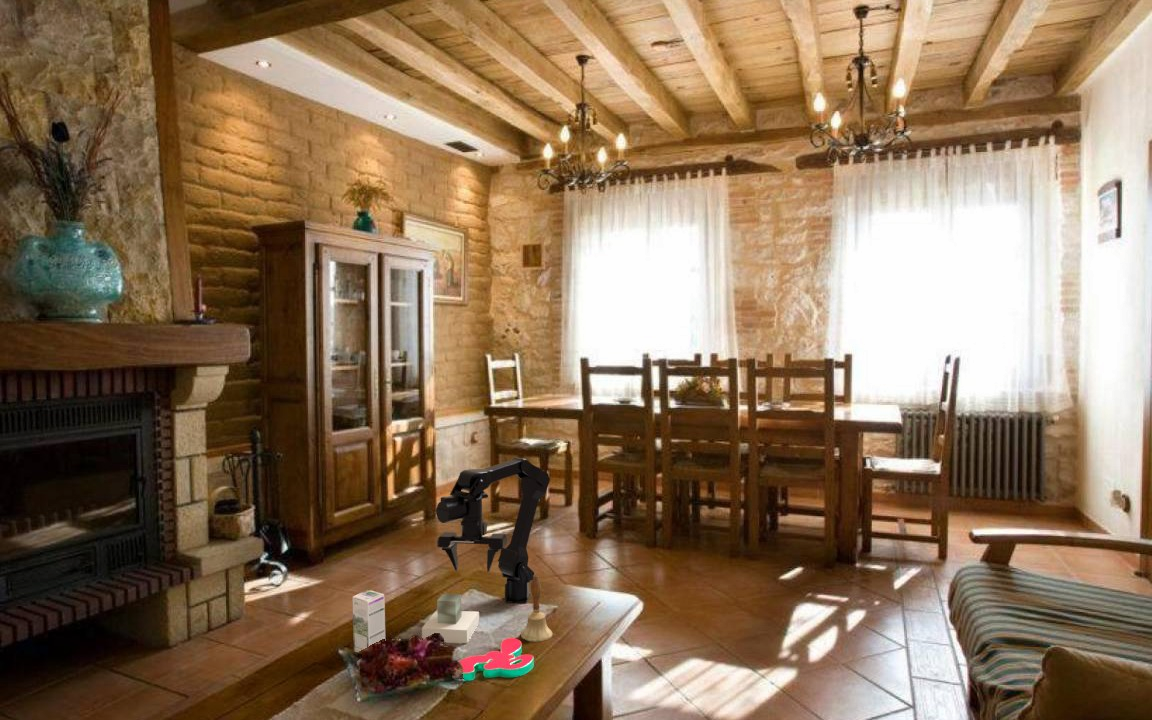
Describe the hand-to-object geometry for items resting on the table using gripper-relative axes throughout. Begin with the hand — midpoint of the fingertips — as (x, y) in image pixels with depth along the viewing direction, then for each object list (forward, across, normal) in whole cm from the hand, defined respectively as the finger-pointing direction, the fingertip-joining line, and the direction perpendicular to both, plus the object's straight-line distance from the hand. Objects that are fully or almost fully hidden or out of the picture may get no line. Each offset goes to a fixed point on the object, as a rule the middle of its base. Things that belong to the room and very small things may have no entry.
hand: (472, 570), depth 195 cm
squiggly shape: (+14, -12, +28) cm, 33 cm away
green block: (+10, +3, +11) cm, 15 cm away
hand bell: (+13, -20, +10) cm, 26 cm away
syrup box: (+13, +20, +24) cm, 34 cm away
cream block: (+14, +3, +11) cm, 18 cm away
